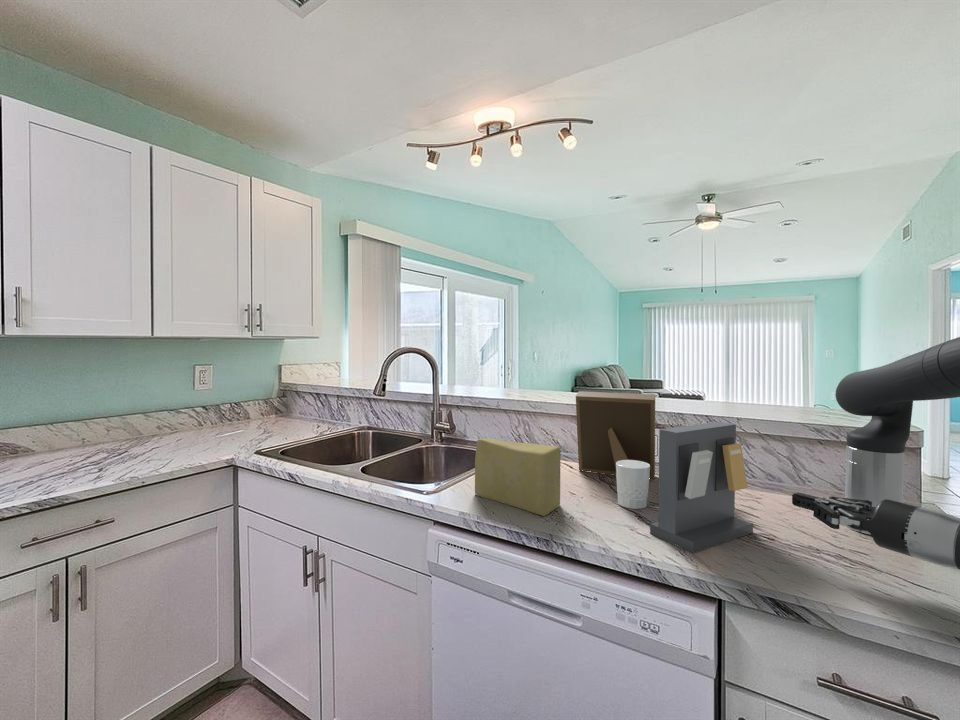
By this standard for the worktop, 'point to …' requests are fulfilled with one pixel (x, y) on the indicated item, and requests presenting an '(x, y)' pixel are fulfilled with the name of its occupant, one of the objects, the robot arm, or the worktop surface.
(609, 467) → the photo frame
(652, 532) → the power panel
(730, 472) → the amber rocker
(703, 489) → the grey rocker
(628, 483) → the white cup
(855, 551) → the worktop surface
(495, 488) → the cheese
